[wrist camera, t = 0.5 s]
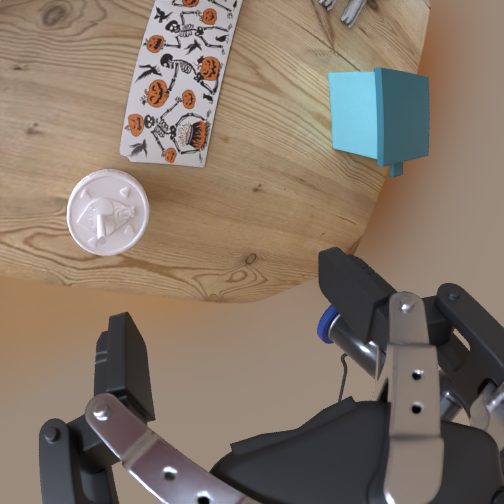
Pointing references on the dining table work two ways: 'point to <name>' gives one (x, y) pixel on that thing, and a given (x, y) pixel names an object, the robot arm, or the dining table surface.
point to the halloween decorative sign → (178, 81)
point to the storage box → (380, 115)
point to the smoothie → (108, 212)
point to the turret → (347, 9)
